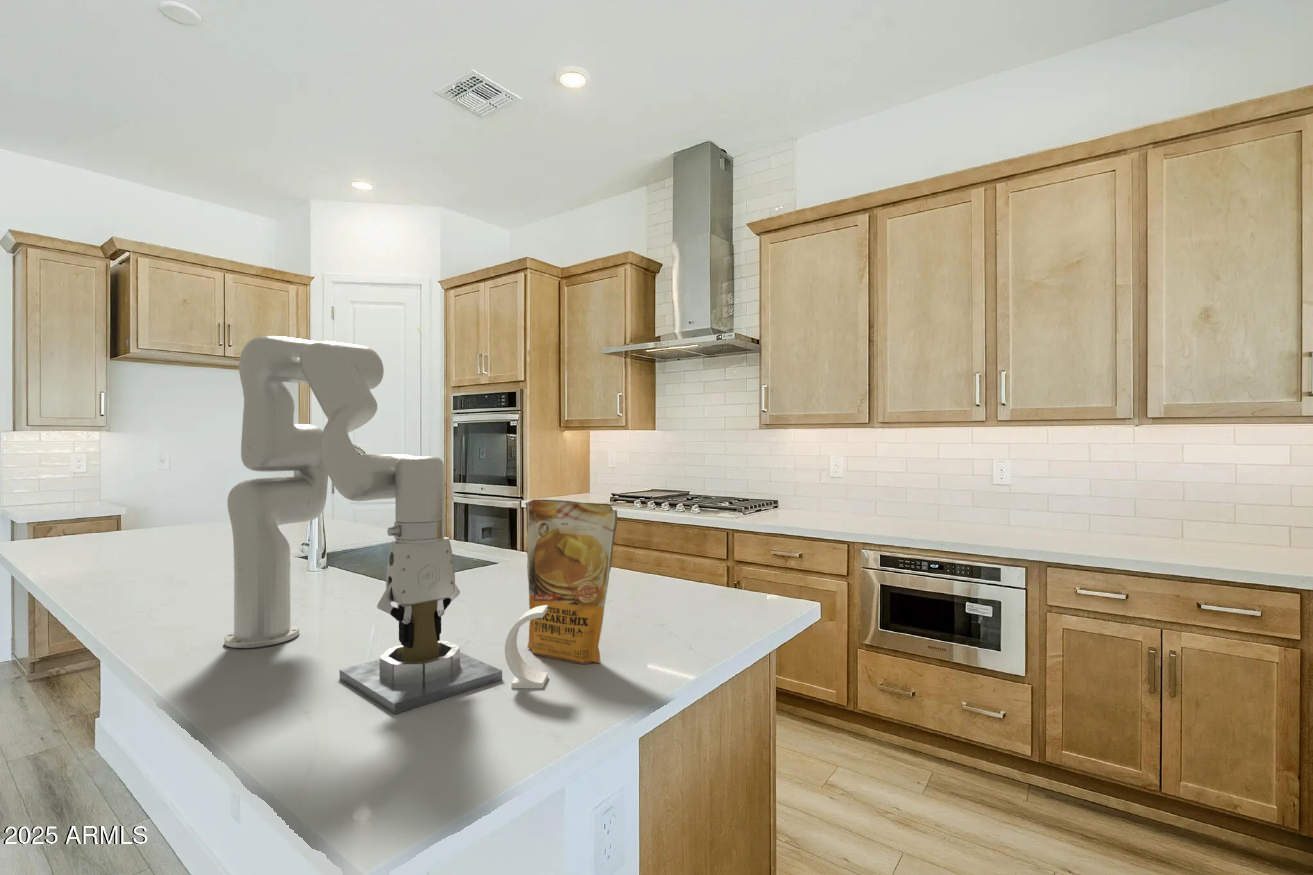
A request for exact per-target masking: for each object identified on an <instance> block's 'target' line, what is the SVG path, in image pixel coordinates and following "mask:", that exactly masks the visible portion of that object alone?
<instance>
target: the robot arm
mask: <svg viewBox="0 0 1313 875" xmlns="http://www.w3.org/2000/svg"><path fill="white" fill-rule="evenodd" d="M384 370H385V369H384V363H383V360H382V359H381V357H380V355H379V354H378V353H377V351H375V350H374V349H372V348H371V347H369V346H365V345H360V344H352V343H345V342H337V341H330V340H329V341H328V340H324V341H316V340H310V339H309V340H308V339H302V338H295V337H290V336H289V337H288V336H280V335H279V336H277V335H265V336H264V335H263V336H258V337H255V338H252V339H250V340H249V341H248V342H247V343H246V344H245V345H244V346H243V348H242V351H241V352H240V356H239V363H238V372H239V378H240V383H241V387H242V394H243V412H242V426H241V428H242V429H241V444H240V458H241V462H242V465H243V466H244V467H245V468H246V469H248V470H250V471H254V472H262V473H263V472H264V473H265V472H267V473H268V472H269V473H270V472H273V473H274V472H291V471H292V472H293V476H285V477H284V476H283V477H280V476H277V477H275V476H274V477H262V478H260V477H259V478H258V477H257V478H250V479H247V480H243V481H241V482H239V483H237V484H236V485H234V486H233V487H232V488H231V490H230V491H229V493H228V496H227V500H226V501H227V512H228V515H229V520H230V525H231V532H232V537H233V538H232V539H233V540H232V541H233V631H232V632H230V633H228V634H227V635H226V636H225V637H224V645H225V646H226V647H230V648H235V649H253V648H254V649H255V648H261V647H268V646H274V645H278V644H283V643H284V642H288V641H291V640H292V639H294V638H296V637H297V636H299V635H300V627H299V626H298V625H297V624H291V547H290V544H289V541H288V539H287V538H286V537H285V535H284V534H283V533H282V532H281V530H280V528H279V526H282V525H289V524H296V523H305V522H310V521H314V520H315V519H317V518H319V517H320V516H321V515H322V513H323V512H324V510H325V506H326V503H327V502H326V501H327V498H328V497H327V495H328V484H329V479H330V481H331V482H332V484H333V486H334V487H335V489H336V491H337V492H338V493H340V495H341V496H342V497H344V498H345V499H347V500H348V501H353V502H367V501H376V500H378V501H379V500H385V499H386V500H387V499H395V510H394V511H395V512H394V513H395V521H394V524H393V525H392V526H390V527H388V528H387V531H386V533H387V536H388V537H389V536H390V537H391V536H393V537H394V539H395V540H393V541H391V544H390V549H389V554H388V559H387V566H386V567H387V568H386V577H385V578H386V579H385V591H384V592H383V594H382V596H381V598H380V600H379V602H378V603H377V605H376V608H377V610H379V611H383V612H385V613H387V614H388V615H390V616H391V617H392V618H394V619H395V620H396V621H397V622H398V640H399V643H400V645H403V646H405V647H407V648H412V647H413V641H414V624H413V623H411V613H412V605H416V604H421V603H426V602H431V601H436V600H437V602H438V603H437V610H436V611H435V613H434V619H435V629H436V635H437V641H441V633H442V617H443V616H444V615H445V611H446V610H447V608H448V607H449V605H451V603H452V602H453V601H454V600H455V599H456V598H457V597H458V596H459V595H460V593H461V591H460V589H459V587H458V586H457V585H456V578H455V577H456V575H455V574H456V572H455V562H454V556H453V550H452V549H453V548H452V546H451V541H450V537H447V536H445V464H444V462H443V460H442V459H441V458H440V457H438V456H433V455H432V456H430V455H411V454H406V453H405V454H403V453H402V454H401V453H394V454H392V453H391V454H359V452H358V451H357V450H356V447H355V446H354V444H353V442H352V440H351V438H350V436H349V433H350V432H353V431H355V430H357V429H360V428H361V427H363V426H364V425H366V424H367V423H368V422H370V421H371V420H372V419H373V418H374V417H375V415H376V414H377V412H378V411H377V410H378V402H377V399H376V398H375V397H374V395H373V393H372V390H373V389H376V388H377V387H378V386H379V385H380V384H381V383H382V380H383V377H384ZM284 383H295V384H307V385H309V387H310V389H311V391H312V393H313V395H314V397H315V399H316V400H317V402H318V404H319V406H320V407H321V410H322V412H323V413H324V416H325V417H326V419H327V422H326V424H325V426H324V428H323V430H322V429H321V428H320V427H318V426H317V425H313V424H308V423H307V424H304V423H303V424H302V423H294V421H295V420H294V415H295V400H294V398H293V396H292V394H291V392H290V390H289V389H288V387H287V386H286V385H285V384H284ZM392 602H393V603H394V602H395V604H397V606H396V607H395V606H393V605H392Z"/></svg>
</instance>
